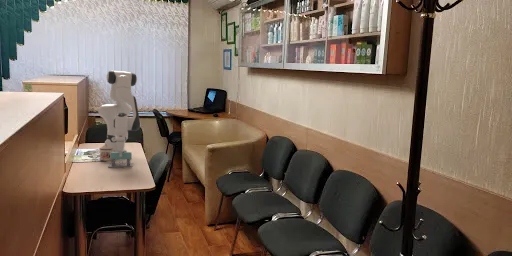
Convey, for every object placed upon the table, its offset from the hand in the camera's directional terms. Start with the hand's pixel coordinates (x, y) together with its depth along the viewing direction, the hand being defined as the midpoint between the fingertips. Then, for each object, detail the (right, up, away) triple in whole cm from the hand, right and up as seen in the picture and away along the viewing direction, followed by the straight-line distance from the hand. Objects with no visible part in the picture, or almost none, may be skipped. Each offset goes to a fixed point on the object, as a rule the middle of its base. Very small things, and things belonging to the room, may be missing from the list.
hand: (121, 155), depth 293 cm
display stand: (0, -8, +1) cm, 8 cm away
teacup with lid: (-16, -4, +19) cm, 25 cm away
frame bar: (0, -3, 0) cm, 3 cm away
